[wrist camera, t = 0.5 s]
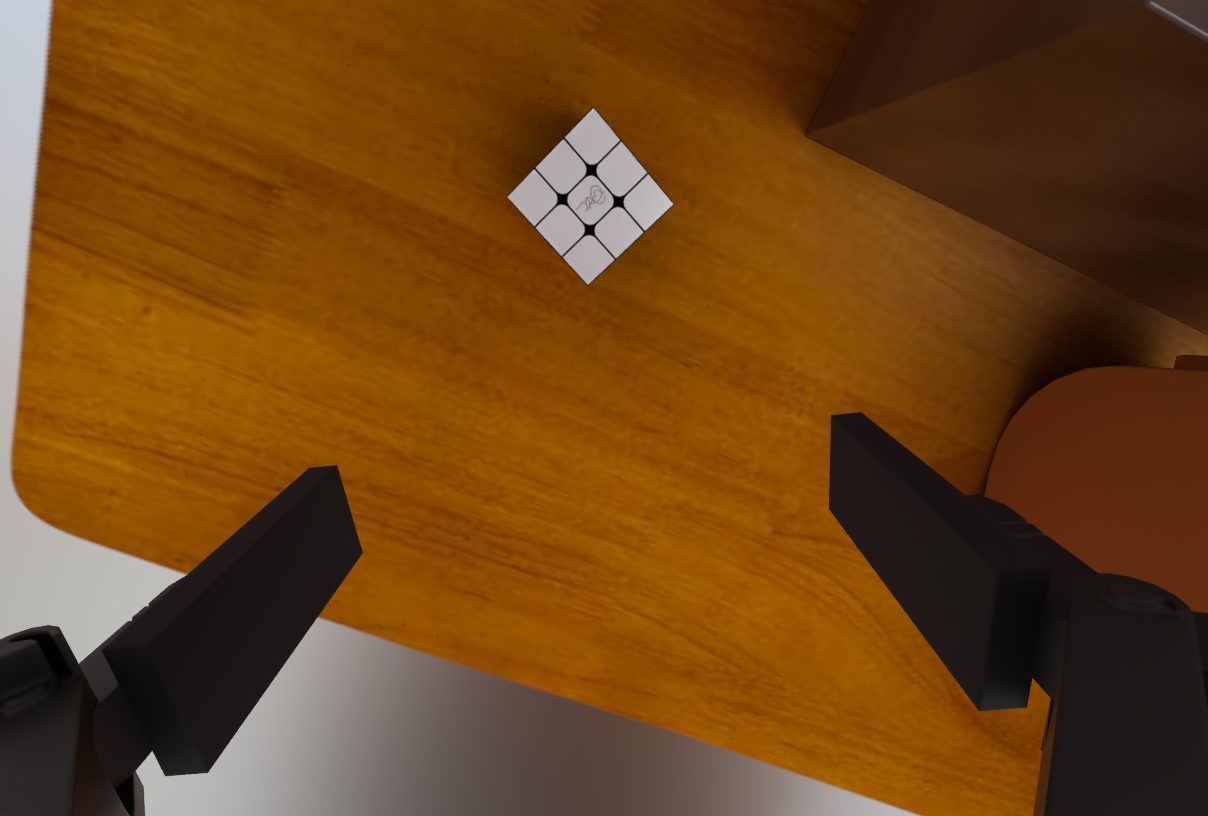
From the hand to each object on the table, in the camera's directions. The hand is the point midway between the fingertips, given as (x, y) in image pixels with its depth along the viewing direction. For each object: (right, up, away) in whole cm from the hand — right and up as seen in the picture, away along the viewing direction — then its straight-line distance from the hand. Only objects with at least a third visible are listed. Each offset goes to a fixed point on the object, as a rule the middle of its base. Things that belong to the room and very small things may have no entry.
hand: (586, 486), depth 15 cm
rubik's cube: (0, +12, +13) cm, 18 cm away
